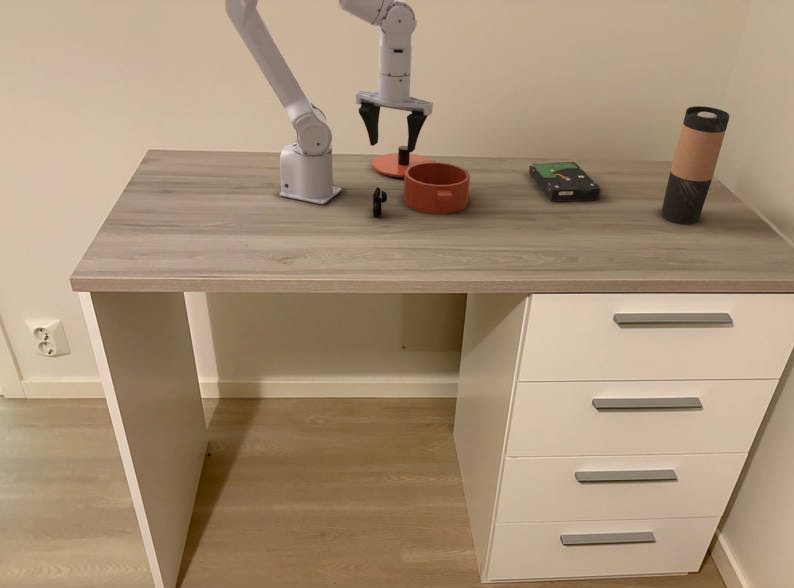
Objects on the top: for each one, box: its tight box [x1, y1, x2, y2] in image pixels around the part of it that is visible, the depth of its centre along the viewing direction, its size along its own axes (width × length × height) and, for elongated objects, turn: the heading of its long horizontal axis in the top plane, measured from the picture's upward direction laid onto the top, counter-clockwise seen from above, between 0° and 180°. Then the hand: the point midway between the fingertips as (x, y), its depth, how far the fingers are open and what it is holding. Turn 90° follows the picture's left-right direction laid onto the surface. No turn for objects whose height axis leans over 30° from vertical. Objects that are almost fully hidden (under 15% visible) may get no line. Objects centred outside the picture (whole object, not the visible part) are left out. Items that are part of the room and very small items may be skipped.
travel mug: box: [660, 105, 730, 225], centre depth 134 cm, size 8×8×20 cm
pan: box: [403, 160, 471, 215], centre depth 138 cm, size 12×18×6 cm
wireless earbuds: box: [372, 186, 388, 218], centre depth 132 cm, size 7×2×5 cm, turn 4°
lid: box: [371, 145, 433, 178], centre depth 152 cm, size 13×13×4 cm
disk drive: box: [528, 161, 602, 202], centre depth 148 cm, size 10×3×15 cm
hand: (392, 147), depth 137 cm, fingers open, 7 cm apart
